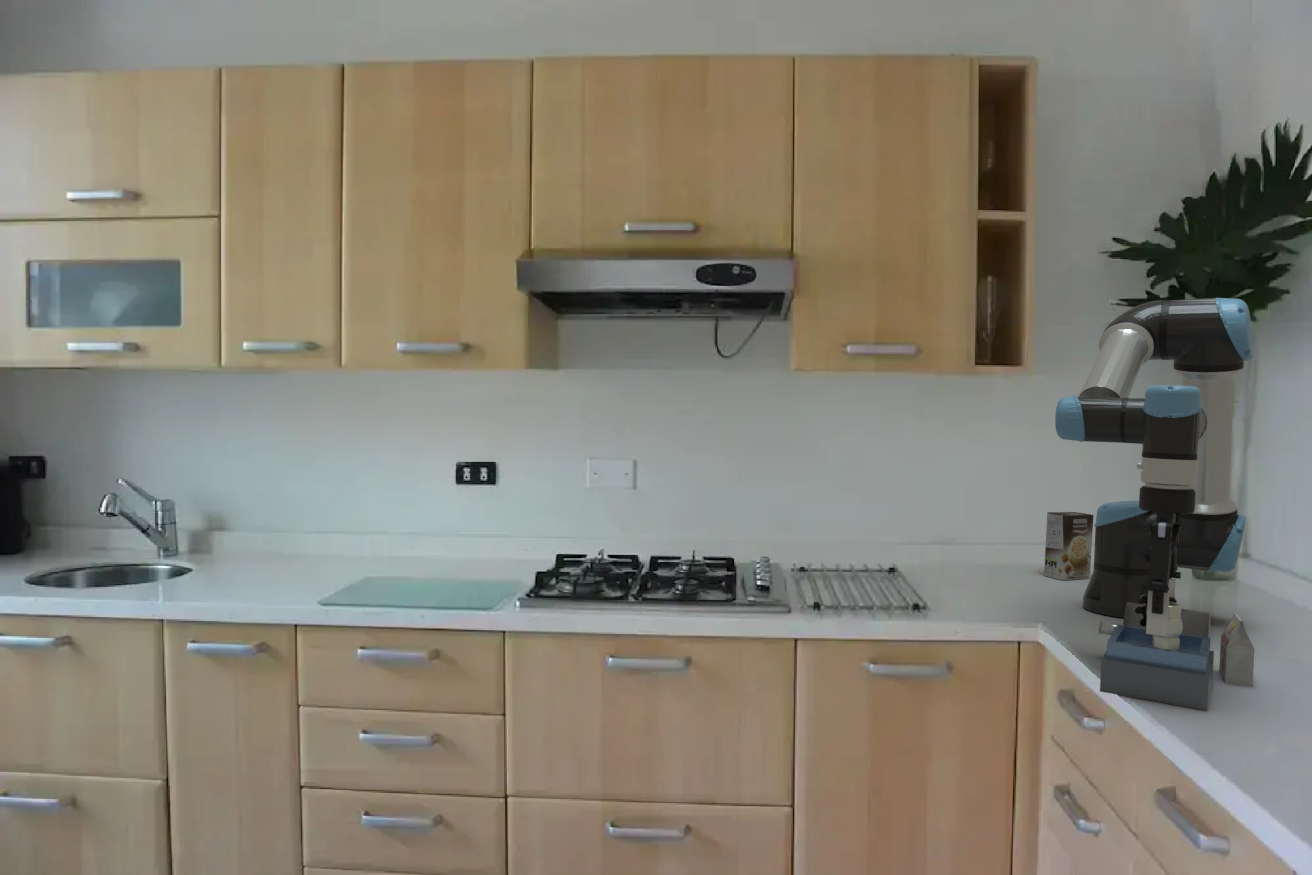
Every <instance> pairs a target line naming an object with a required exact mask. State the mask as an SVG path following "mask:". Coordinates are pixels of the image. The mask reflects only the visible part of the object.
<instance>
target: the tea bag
mask: <svg viewBox="0 0 1312 875" xmlns="http://www.w3.org/2000/svg"><path fill="white" fill-rule="evenodd" d="M1254 663H1255V647H1254V645H1253V643H1252V641H1251V639H1250V637H1249V635H1248V634H1247V631H1246V628H1245V626H1244V621H1243V620H1242V619H1241V617H1240V616H1239V614H1238V613H1237V612H1236V613H1235V612H1233V614H1232V617H1231V619H1230V621H1229V622H1228V625H1227V626H1226V628H1225V629H1224V631H1223V632H1222V633H1221V635H1220V647H1219V665H1218V666H1219V668H1218V672H1219V674H1220V676H1221V678H1222V679H1223V682H1224V684H1232V685H1241V686H1247V687H1253V686H1254V685H1253V683H1254V681H1253V680H1254V667H1255V666H1254Z"/></svg>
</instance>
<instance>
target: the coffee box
mask: <svg viewBox="0 0 1312 875" xmlns="http://www.w3.org/2000/svg"><path fill="white" fill-rule="evenodd" d="M1094 516H1095V515H1094V514H1090V513H1085V512H1077V511H1053V512H1050V511H1049V512H1048V511H1047V517H1046V531H1045V532H1046V533H1045V549H1044V550H1045V551H1044V567H1043V569H1044V570H1043V576H1044V577H1048V578H1051V579H1056V580H1059V581H1075V580H1087V579H1089V580H1090V579H1091V568H1092V567H1091V565H1092V563H1091V562H1092V548H1093V532H1094V531H1093V530H1094Z"/></svg>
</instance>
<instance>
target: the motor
mask: <svg viewBox="0 0 1312 875" xmlns="http://www.w3.org/2000/svg"><path fill="white" fill-rule="evenodd" d="M1136 606H1140V607H1142V606H1143V604H1140V603H1132V602H1127V604H1126V608H1125V614H1124V618H1123V623H1122V624H1118V623H1111V622H1104V621H1099V626H1098V627H1099V628H1098V634H1100V635H1107V636H1110V637H1109V638H1108V640H1107V642H1106V651H1105V653H1104V654H1103V656H1102V657H1101V659H1100V662H1101V663H1100V677H1099V678H1100V680H1099V681H1100V682H1099V692H1102V693H1106V694H1113V695H1118V696H1124V697H1129V698H1135V699H1138V700H1139V699H1140V700H1146V701H1152V702H1156V703H1157V702H1158V703H1162V704H1167V705H1168V704H1169V705H1174V706H1179V707H1185V708H1188V709H1195V710H1200V711H1201V710H1202V711H1208V708H1209V702H1210V696H1211V693H1212V692H1211V691H1212V686H1213V675H1214V659H1215V657H1214V656H1215V651H1213V650H1211V640H1212V639H1211V637H1210V635H1211V612H1209V611H1200V610H1192V609H1185V608H1181V613H1182V616H1181V617H1180V618H1181V620H1182V624H1183V630H1182V633H1181V635H1180V636H1179V639H1180V644H1179V649H1178V650H1163V649H1159V648H1156V647H1154V646H1153V644H1152V640H1153V635H1152V634H1146V626H1145V627H1143V626H1141V625H1140V623H1139V620H1140V619H1142V618H1143V615H1142V614H1141V613H1139V614H1137V613H1136V612H1135V611H1134V608H1135V607H1136ZM1146 614H1147V608H1146Z"/></svg>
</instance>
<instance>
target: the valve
mask: <svg viewBox="0 0 1312 875" xmlns="http://www.w3.org/2000/svg"><path fill="white" fill-rule="evenodd" d="M1140 599H1141V601H1143V602H1144V604H1143V606H1142V607H1140V606H1136V607H1135V608H1134V611H1135V612H1136V613H1137V614H1139V613H1141V614H1142V615H1143V618H1142V619H1140V620H1139V623H1140V625H1141V626H1143V627H1145V626H1146V624H1147V614H1146V608H1147V605H1148V596H1147V595H1145V594H1143V595H1141V597H1140ZM1181 609H1182V605H1181V604H1180V603H1178V602H1177V599H1176V598H1174V597H1169V606H1168V622H1167V637H1166V636H1159V635H1153V640H1152V644H1153V646H1154V647H1156V648H1159V649H1163V650H1178V649H1179V644H1180V639H1179V636H1180V635H1181V633H1182V630H1183V624H1182V620H1181V618H1180V617H1181V616H1182V613H1181Z"/></svg>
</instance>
